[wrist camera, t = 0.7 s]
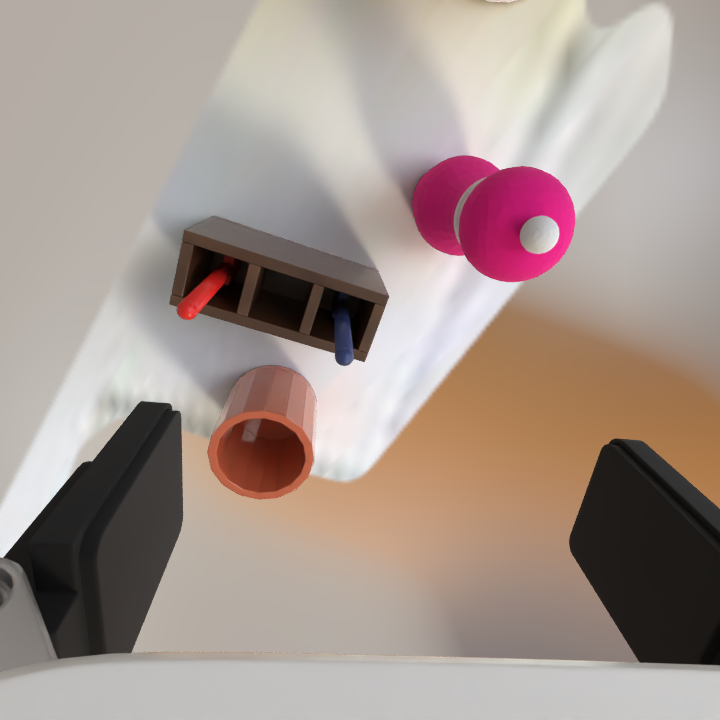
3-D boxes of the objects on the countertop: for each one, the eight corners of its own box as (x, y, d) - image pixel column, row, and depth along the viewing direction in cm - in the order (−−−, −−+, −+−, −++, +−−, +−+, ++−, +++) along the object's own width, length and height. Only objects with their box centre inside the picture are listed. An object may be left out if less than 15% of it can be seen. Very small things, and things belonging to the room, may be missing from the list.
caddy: (214, 215, 40) (184, 229, 32) (378, 270, 42) (389, 296, 34) (200, 276, 42) (168, 304, 34) (358, 325, 44) (364, 362, 36)
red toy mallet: (233, 241, 40) (178, 287, 26) (246, 245, 40) (199, 293, 26) (226, 270, 41) (169, 331, 26) (239, 274, 41) (189, 337, 27)
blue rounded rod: (338, 275, 42) (342, 337, 27) (350, 279, 42) (360, 342, 27) (329, 303, 42) (328, 377, 28) (341, 306, 43) (346, 382, 28)
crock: (241, 354, 45) (221, 398, 36) (327, 379, 46) (326, 427, 38) (221, 429, 48) (198, 485, 39) (302, 449, 49) (296, 508, 41)
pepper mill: (492, 239, 42) (618, 301, 23) (410, 251, 42) (472, 322, 23) (489, 149, 39) (631, 140, 21) (401, 163, 39) (465, 165, 21)
